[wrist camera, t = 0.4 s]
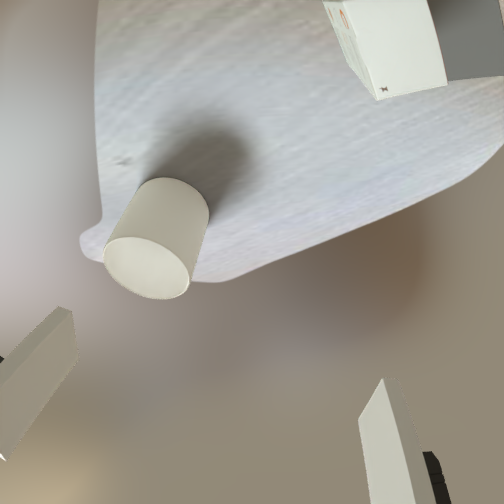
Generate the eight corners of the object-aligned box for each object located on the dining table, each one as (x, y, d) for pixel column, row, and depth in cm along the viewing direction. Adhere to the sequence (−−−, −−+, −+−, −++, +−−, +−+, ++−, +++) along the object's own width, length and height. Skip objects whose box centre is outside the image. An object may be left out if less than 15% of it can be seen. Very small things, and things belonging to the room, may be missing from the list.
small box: (400, 53, 27) (450, 87, 18) (347, 65, 30) (375, 103, 21) (377, -14, 22) (424, -15, 13) (320, -1, 25) (338, 0, 16)
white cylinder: (123, 212, 48) (92, 269, 40) (155, 161, 41) (120, 219, 33) (184, 249, 53) (164, 310, 44) (225, 208, 46) (208, 272, 37)
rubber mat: (378, -47, 19) (379, -47, 19) (483, -47, 15) (484, -47, 15) (417, 84, 30) (418, 85, 29) (508, 74, 25) (509, 75, 25)
